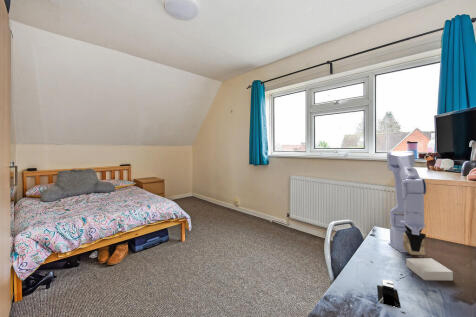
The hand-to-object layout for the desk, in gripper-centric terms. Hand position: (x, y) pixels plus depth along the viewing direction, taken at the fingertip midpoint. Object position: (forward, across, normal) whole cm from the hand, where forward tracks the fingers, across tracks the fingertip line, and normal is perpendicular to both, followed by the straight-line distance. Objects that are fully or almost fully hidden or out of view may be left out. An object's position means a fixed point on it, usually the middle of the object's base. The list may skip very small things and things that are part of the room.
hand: (414, 247), depth 79 cm
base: (+9, 0, +4) cm, 9 cm away
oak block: (+2, 0, 0) cm, 2 cm away
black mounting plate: (+9, +22, -8) cm, 25 cm away
